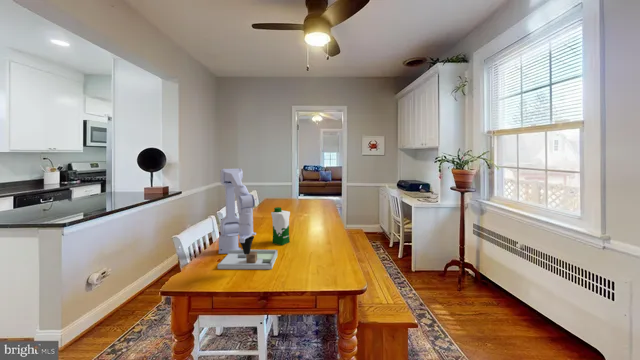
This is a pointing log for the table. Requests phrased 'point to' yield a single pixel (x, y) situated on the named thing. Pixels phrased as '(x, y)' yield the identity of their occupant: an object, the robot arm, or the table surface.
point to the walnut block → (251, 257)
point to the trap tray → (238, 261)
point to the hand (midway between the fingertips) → (246, 253)
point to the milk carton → (280, 226)
